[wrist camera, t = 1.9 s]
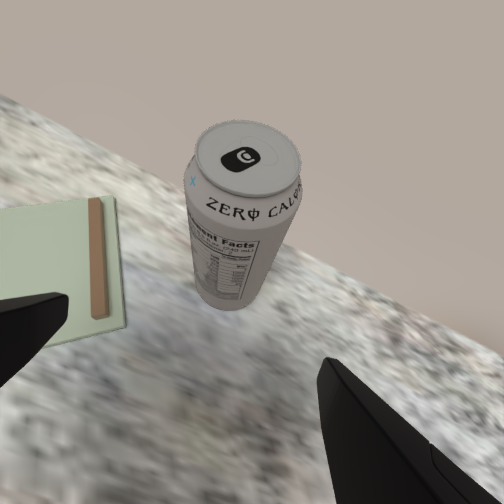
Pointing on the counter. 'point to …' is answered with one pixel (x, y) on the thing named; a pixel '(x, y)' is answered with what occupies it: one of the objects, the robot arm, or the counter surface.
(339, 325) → the counter surface
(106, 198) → the mat
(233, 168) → the energy drink can
